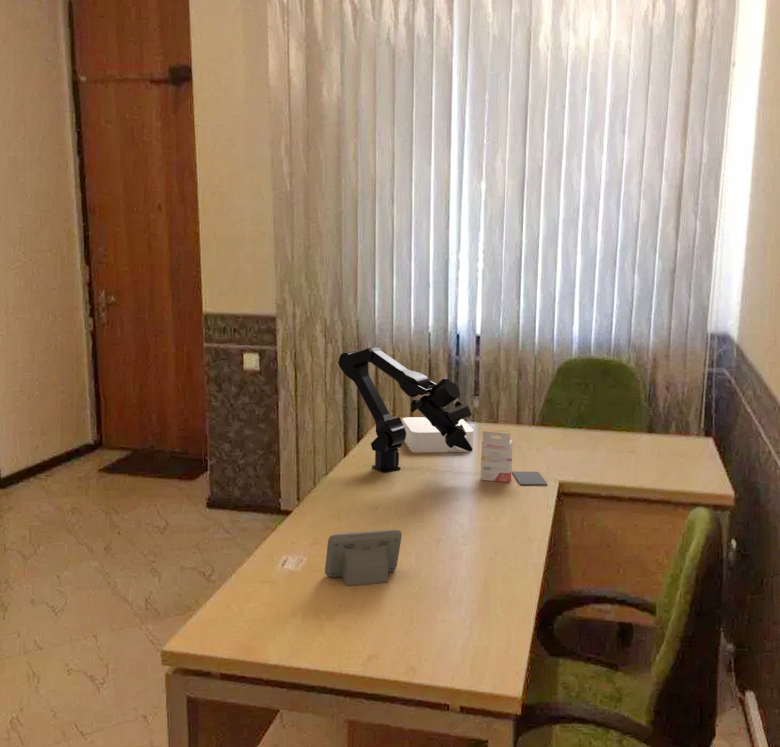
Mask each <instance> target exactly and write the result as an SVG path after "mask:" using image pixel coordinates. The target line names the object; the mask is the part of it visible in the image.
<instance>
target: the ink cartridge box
mask: <svg viewBox="0 0 780 747" xmlns="http://www.w3.org/2000/svg"><path fill="white" fill-rule="evenodd" d="M495 436H497V437H499V438H497V437H496V438H493V437H495ZM480 454H481V459H480V461H481V462H480V480H482V481H490V482H491V481H492V482H500V483H510V481H511V479H512V471H513V470H512V467H513V466H512V464H513V439H511V434H510V433H507V432H506V433H505V432H500V431H499V432H495V431H488V430H487V431H486V430H484V431H483V432H482V441H481V453H480Z"/></svg>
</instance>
